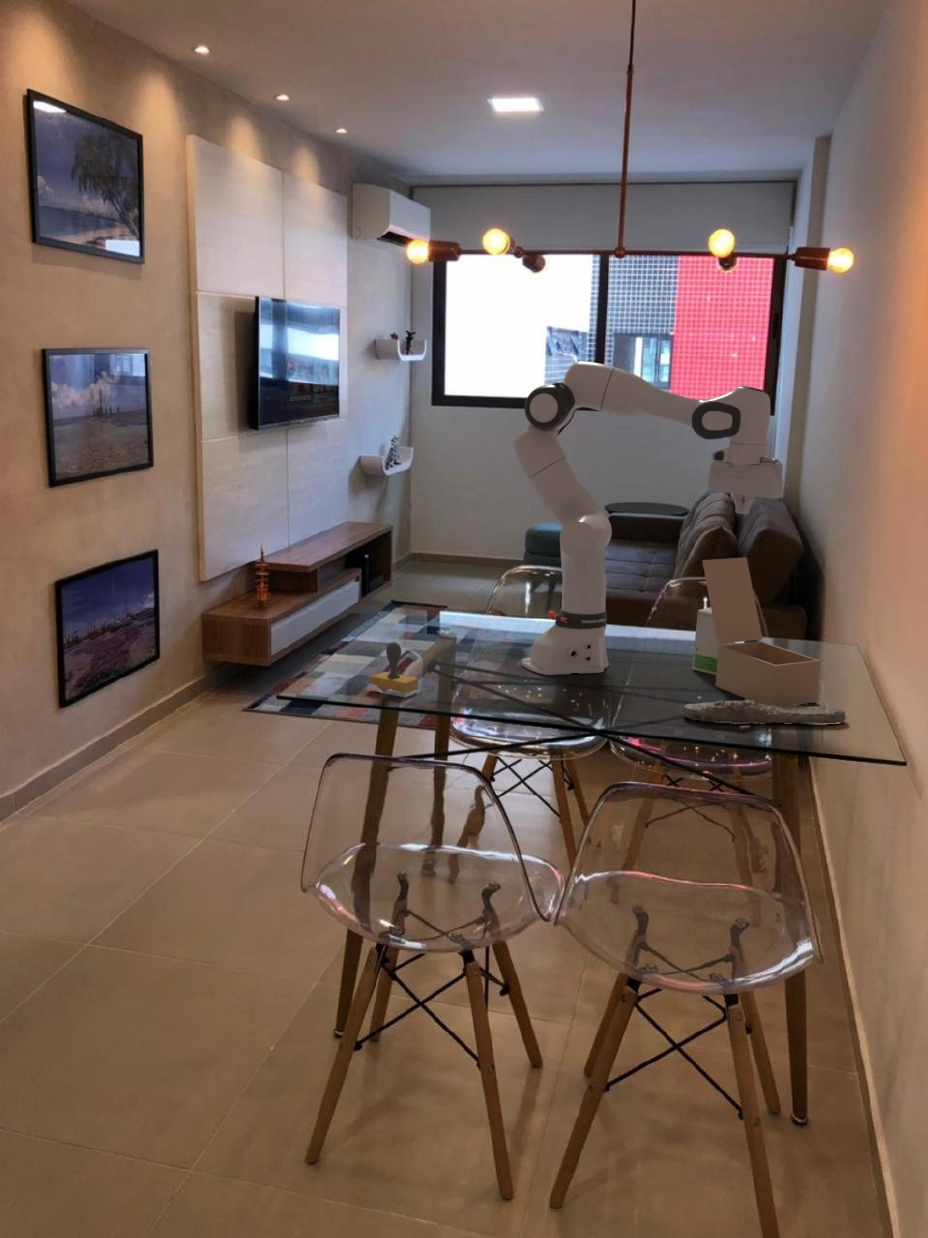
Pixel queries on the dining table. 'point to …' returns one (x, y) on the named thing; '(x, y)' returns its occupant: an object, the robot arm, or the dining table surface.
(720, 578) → the lid flap
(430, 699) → the dining table surface
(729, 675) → the carton
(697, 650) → the skincare box
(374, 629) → the dining table surface
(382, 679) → the rubber stamp
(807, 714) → the long grey stone
